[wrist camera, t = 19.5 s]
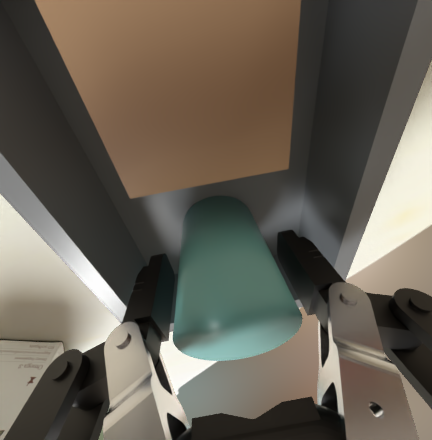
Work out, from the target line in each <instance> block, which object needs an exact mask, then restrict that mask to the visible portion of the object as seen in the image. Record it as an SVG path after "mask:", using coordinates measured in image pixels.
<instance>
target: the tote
mask: <svg viewBox="0 0 432 440" xmlns="http://www.w3.org/2000/svg"><path fill="white" fill-rule="evenodd" d="M431 60H432V0H301V7H300V21H299V34H298V48H297V62H296V75H295V89H294V102H293V116H292V130H291V143H290V157H289V169H285V170H280V171H275V172H269V173H264V174H259V175H253V176H248V177H243V178H238V179H232V180H227V181H222V182H216V183H211V184H206V185H200V186H195V187H190V188H185V189H179V190H174V191H169V192H163V193H158V194H153V195H147V196H142V197H137V198H132V199H130V197H129V195H128V193H127V191H126V189H125V187H124V185H123V183H122V181H121V179H120V177H119V175H118V173H117V170H116V168H115V166H114V164H113V162H112V160H111V158H110V156H109V154H108V152H107V150H106V148H105V146H104V143H103V141H102V139H101V137H100V135H99V133H98V131H97V129H96V127H95V125H94V123H93V121H92V119H91V116H90V114H89V112H88V110H87V108H86V106H85V104H84V102H83V100H82V98H81V96H80V94H79V92H78V89H77V87H76V85H75V83H74V81H73V79H72V77H71V75H70V73H69V71H68V69H67V67H66V65H65V62H64V60H63V58H62V56H61V54H60V52H59V50H58V48H57V46H56V44H55V42H54V40H53V38H52V36H51V33H50V31H49V29H48V27H47V25H46V23H45V21H44V19H43V17H42V15H41V13H40V11H39V9H38V6H37V4H36V2H35V0H0V194H1V195H2V196H3V197H4V198H5V199H6V200H7V201H8V202H9V203H10V204H11V206H12V207H13V208H14V209H15V210H16V211H17V212H18V213H19V214H20V215H21V216H22V217H23V218H24V220H25V221H26V222H27V223H28V224H29V225H30V226H31V227H32V228H33V229H34V230H35V231H36V232H37V233H38V235H39V236H40V237H41V238H42V239H43V240H44V241H45V242H46V243H47V244H48V245H49V246H50V247H51V248H52V250H53V251H54V252H55V253H56V254H57V255H58V256H59V257H60V258H61V259H62V260H63V261H64V262H65V264H66V265H67V266H68V267H69V268H70V269H71V270H72V271H73V272H74V273H75V274H76V275H77V276H78V277H79V279H80V280H81V281H82V282H83V283H84V284H85V285H86V286H87V287H88V288H89V289H90V290H91V291H92V293H93V294H94V295H95V296H96V297H97V298H98V299H99V300H100V301H101V302H102V303H103V304H104V305H105V306H106V308H107V309H108V310H109V311H110V312H111V313H112V314H113V315H114V316H115V317H116V318H117V319H118V320H119V322H120V323H122V321H123V318H124V315H125V312H126V309H127V306H128V302H129V299H130V296H131V293H132V292H133V291H132V290H133V287H134V285H135V281H136V278H137V275H138V273H139V272H140V271H141V269H142V268H143V267H144V266H148V265H149V261H150V258H151V256H153V255H158V254H163V253H165V254H166V255H167V257H168V259H169V262H170V264H171V266H172V268H173V271H174V275H175V283H174V293H173V302H172V312H171V321H170V330H169V332H171V331H173V330H174V319H175V307H176V295H177V284H178V272H179V260H180V249H181V237H182V225H183V220H184V217H185V215H186V213H187V211H188V210H189V209H190V208H191V207H192V206H193V205H194V204H196V203H197V202H199V201H201V200H202V199H205V198H208V197H212V196H229V197H233V198H236V199H238V200H240V201H241V202H243V203H244V204H245V205H246V206H247V207H248V208H249V210H250V212H251V214H252V216H253V218H254V220H255V222H256V224H257V226H258V228H259V230H260V232H261V234H262V236H263V238H264V240H265V242H266V244H267V246H268V248H269V250H270V252H271V254H272V256H273V258H274V260H275V262H276V264H277V266H278V268H279V270H280V272H281V274H282V276H283V278H284V280H285V282H286V284H287V286H288V288H289V290H290V292H291V294H292V296H293V298H294V300H295V302H296V304H297V306H298V308H299V307H303V305H302V303H301V302H300V300H299V298H298V296H297V294H296V292H295V290H294V288H293V286H292V284H291V283H290V281H289V279H288V277H287V275H286V273H285V271H284V269H283V267H282V265H281V263H280V262H279V259H278V256H277V235H278V232H281V231H286V230H293V231H294V232H295V233H296V235H297V236H298V237H305V238H307V239H308V240H310V241H312V242H313V243H314V245H315V246H316V247H317V248H318V250H319V251H320V252H321V253H322V254H323V256H324V257H325V258H326V259H327V260H328V262H329V263H330V264H331V265H332V266H333V268H334V269H335V270H336V271H337V272H338V274H339V275H340V276H341V277H342V279H343V280H344V281H345V280H346V277H347V275H348V272H349V269H350V267H351V264H352V262H353V259H354V257H355V254H356V252H357V249H358V246H359V244H360V241H361V239H362V236H363V234H364V231H365V229H366V226H367V223H368V221H369V218H370V216H371V213H372V211H373V208H374V206H375V203H376V200H377V198H378V195H379V193H380V190H381V188H382V185H383V183H384V180H385V177H386V175H387V172H388V170H389V167H390V165H391V162H392V159H393V157H394V154H395V152H396V149H397V147H398V144H399V142H400V139H401V136H402V134H403V131H404V129H405V126H406V124H407V121H408V119H409V116H410V113H411V111H412V108H413V106H414V103H415V101H416V98H417V96H418V93H419V90H420V88H421V85H422V83H423V80H424V78H425V75H426V73H427V70H428V67H429V65H430V62H431Z"/></svg>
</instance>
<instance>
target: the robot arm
mask: <svg viewBox="0 0 432 440" xmlns="http://www.w3.org/2000/svg"><path fill="white" fill-rule="evenodd" d="M277 256H278V259H279V262H280V263H281V265H282V267H283V269H284V271H285V273H286V275H287V277H288V279H289V281H290V283H291V284H292V286H293V288H294V290H295V292H296V294H297V296H298V298H299V300H300V302H301V303H302V305H303V307H304V309H305V311H306V313H307V315H312V314H316V316H317V318H318V320H319V322H318V335H319V337H318V339H319V376H318V404H314V401H313V398H312V397H308V398H301V399H296V400H291V401H286V402H281V403H280V404H279V405H277V406H275V407H274V408H272V409H270V410H269V411H267V412H266V413H264V414H262V415H261V416H259V417H258V418H256V419H247V418H242V417H238V416H233V415H228V414H223V413H220V414H214V415H209V416H203V417H198V418H192V427H190V426H189V423H188V421H187V418H186V415H185V413H184V411H183V408H182V406H181V404H180V402H179V401H178V399H177V397H176V394H175V392H174V389H173V386H172V383H171V381H170V378H169V375H168V372H167V369H166V367H165V364H164V361H163V358H162V355H161V353H160V345H161V342H164V341H168V340H169V330H170V321H171V312H172V302H173V293H174V283H175V275H174V271H173V268H172V266H171V264H170V262H169V259H168V257H167V255H166V254H165V253H163V254H158V255H153V256H151V258H150V261H149V265H148V266H144V267H143V268H142V269H141V271H140V272H139V273H138V275H137V278H136V281H135V285H134V287H133V290H132V291H133V292H132V293H131V296H130V299H129V302H128V306H127V309H126V312H125V315H124V318H123V321H122V323H121V325H119V326H118V327H116V328H115V329H114V330H113V331H112V332H111V334H110V335H109V336H108V338H107V340H106V341H105V342H103V343H102V344H100V345H98V346H96V347H94V348H92V349H90V350H88V351H86V352H84V353H82V352H80V351H79V350H77V349H72V350H68V351H66V352H64V353H63V354H61V355H60V356H58V357H57V358H56V359H55V360H54V361H53V362H52V363H51V364H50V365H49V366H48V368H47V369H46V371H45V372H44V374H43V375H42V377H41V379H40V380H39V382H38V384H37V385H36V387H35V388H34V390H33V392H32V393H31V395H30V397H29V398H28V400H27V402H26V403H25V405H24V406H23V408H22V410H21V411H20V413H19V415H18V416H17V418H16V420H15V421H14V423H13V424H12V426H11V428H10V429H9V431H8V433H7V434H6V436H5V438H4V439H3V440H98V439H99V436H100V433H101V430H102V427H103V437H104V440H419V437H418V434H417V430H416V427H415V424H414V420H413V417H412V414H411V410H410V407H409V404H408V400H407V397H406V394H405V390H404V387H403V383H402V380H401V377H400V374H399V371H400V372H401V373H402V374H403V375H404V377H405V378H406V379H407V380H408V381H409V383H410V384H411V385H412V386H413V387H414V389H415V390H416V391H417V392H418V393H419V395H420V396H421V397H422V398H423V399H424V400H425V402H426V403H427V404H428V405H429V406H430V408H431V409H432V297H431V296H429V295H427V294H425V293H423V292H420V291H418V290H414V289H408V288H404V289H399V290H397V291H396V292H395V293H394V295H393V296H389V295H380V294H371V293H366V292H364V291H363V290H361V289H360V288H358V287H357V286H355V285H352V284H349V283H346V282H345V281H344V280H343V279H342V277H341V276H340V275H339V274H338V272H337V271H336V270H335V269H334V268H333V266H332V265H331V264H330V263H329V262H328V260H327V259H326V258H325V257H324V256H323V254H322V253H321V252H320V251H319V250H318V248H317V247H316V246H315V245H314V243H313V242H312V241H310V240H308V239H307V238H305V237H298V236H297V235H296V233H295V232H294V231H293V230H286V231H281V232H278V235H277ZM384 353H385V354H386V355H387V356H388V358H389V359H390V360H391V361H389V360H387V358H386V356H385V354H384ZM397 368H398V369H397ZM398 370H399V371H398ZM109 406H110V409H109ZM108 409H109V412H108ZM107 412H108V413H107ZM373 414H375V416H376V417H375V416H374V415H373Z"/></svg>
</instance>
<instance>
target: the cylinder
mask: <svg viewBox="0 0 432 440" xmlns="http://www.w3.org/2000/svg"><path fill="white" fill-rule="evenodd" d="M301 324H302V314H301V312H300V310H299V308H298V306H297V304H296V302H295V300H294V298H293V296H292V294H291V292H290V290H289V288H288V286H287V284H286V282H285V280H284V278H283V276H282V274H281V272H280V270H279V268H278V266H277V264H276V262H275V260H274V258H273V256H272V254H271V252H270V250H269V248H268V246H267V244H266V242H265V240H264V238H263V236H262V234H261V232H260V230H259V228H258V226H257V224H256V222H255V220H254V218H253V216H252V214H251V212H250V210H249V208H248V207H247V206H246V205H245V204H244V203H243V202H241V201H240V200H238V199H236V198H233V197H229V196H212V197H208V198H205V199H202V200H201V201H199V202H197V203H196V204H194V205H193V206H192V207H191V208H190V209H189V210H188V211H187V213H186V215H185V217H184V220H183V225H182V237H181V249H180V260H179V272H178V284H177V295H176V307H175V319H174V330H173V342H174V344H175V346H176V347H177V349H178V350H180V351H181V352H182V353H184V354H186V355H188V356H191V357H194V358H198V359H203V360H214V361H223V360H236V359H242V358H247V357H251V356H255V355H259V354H262V353H264V352H267V351H270V350H272V349H274V348H276V347H278V346H280V345H282V344H283V343H285V342H287V341H288V340H289V339H291V338H292V337H293V336H294V335H295V333H297V331H298V330H299V328H300V327H301Z"/></svg>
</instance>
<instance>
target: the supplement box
mask: <svg viewBox="0 0 432 440" xmlns="http://www.w3.org/2000/svg"><path fill="white" fill-rule="evenodd" d="M63 353H64V348H63V343H62V342H55V343H48V342H26V341H8V340H0V440H3V439H4V438H5V436H6V434H7V433H8V431H9V429H10V428H11V426H12V424H13V423H14V421H15V420H16V418H17V416H18V415H19V413H20V411H21V410H22V408H23V406H24V405H25V403H26V402H27V400H28V398H29V397H30V395H31V393H32V392H33V390H34V388H35V387H36V385H37V384H38V382H39V380H40V379H41V377H42V375H43V374H44V372H45V371H46V369H47V368H48V366H49V365H50V364H51V363H52V362H53V361H54V360H55V359H56V358H57V357H58V356H60V355H61V354H63Z"/></svg>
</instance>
